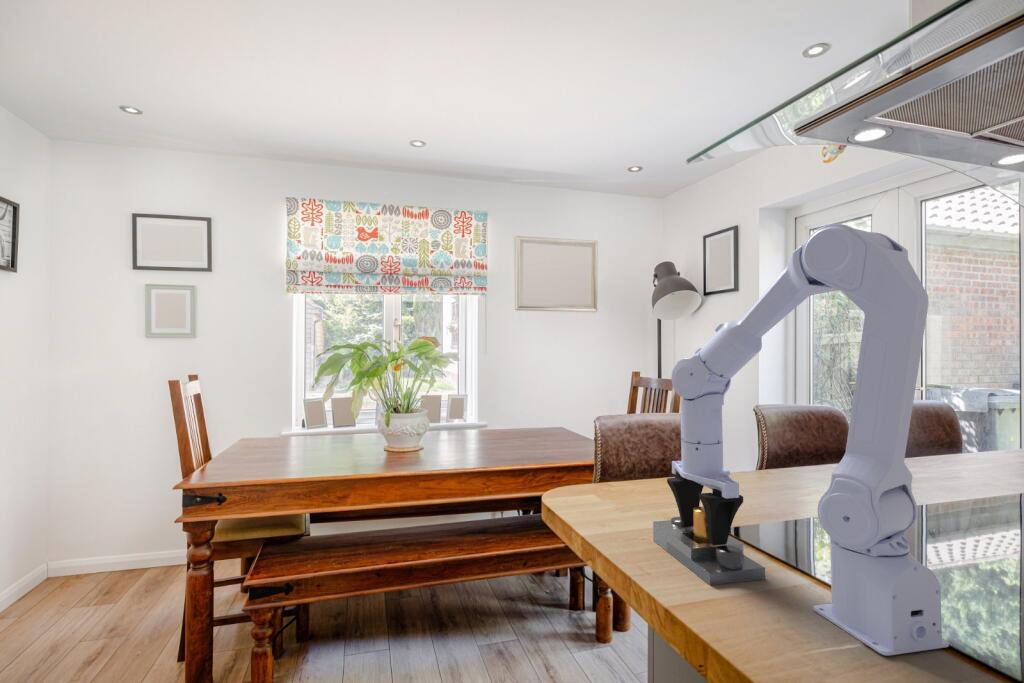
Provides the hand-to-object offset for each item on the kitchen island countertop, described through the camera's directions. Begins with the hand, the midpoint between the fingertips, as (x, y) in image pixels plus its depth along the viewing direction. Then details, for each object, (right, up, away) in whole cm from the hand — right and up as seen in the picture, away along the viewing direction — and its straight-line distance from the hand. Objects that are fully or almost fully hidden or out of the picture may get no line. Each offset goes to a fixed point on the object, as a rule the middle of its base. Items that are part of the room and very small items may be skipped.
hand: (703, 534), depth 75 cm
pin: (0, -3, 0) cm, 3 cm away
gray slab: (0, -3, 0) cm, 3 cm away
